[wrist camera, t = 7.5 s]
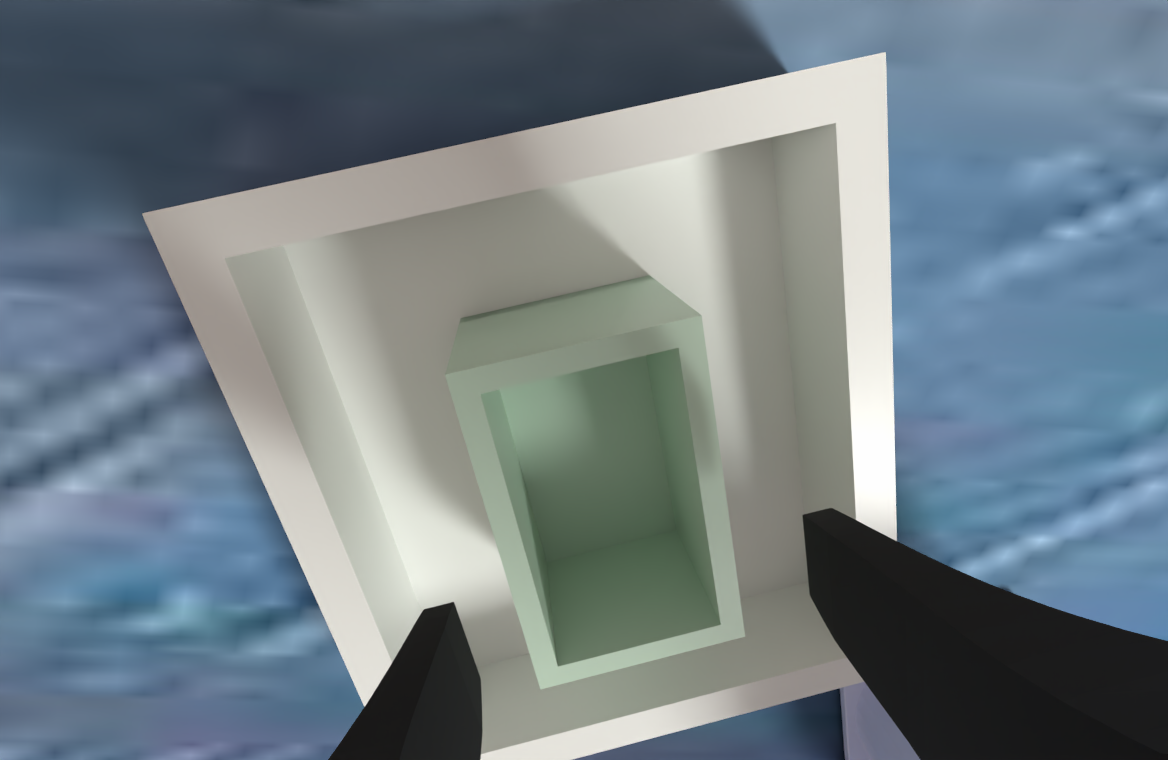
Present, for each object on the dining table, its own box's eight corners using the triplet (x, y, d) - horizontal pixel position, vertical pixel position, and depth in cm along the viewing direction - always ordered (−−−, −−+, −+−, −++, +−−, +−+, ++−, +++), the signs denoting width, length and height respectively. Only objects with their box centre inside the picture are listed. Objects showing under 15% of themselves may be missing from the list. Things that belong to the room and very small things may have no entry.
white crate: (829, 581, 24) (899, 672, 19) (425, 685, 23) (408, 803, 19) (793, 78, 17) (885, 52, 13) (233, 200, 17) (142, 213, 12)
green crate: (691, 530, 21) (745, 636, 16) (532, 570, 21) (540, 689, 16) (649, 275, 18) (701, 315, 13) (460, 318, 17) (445, 375, 13)
